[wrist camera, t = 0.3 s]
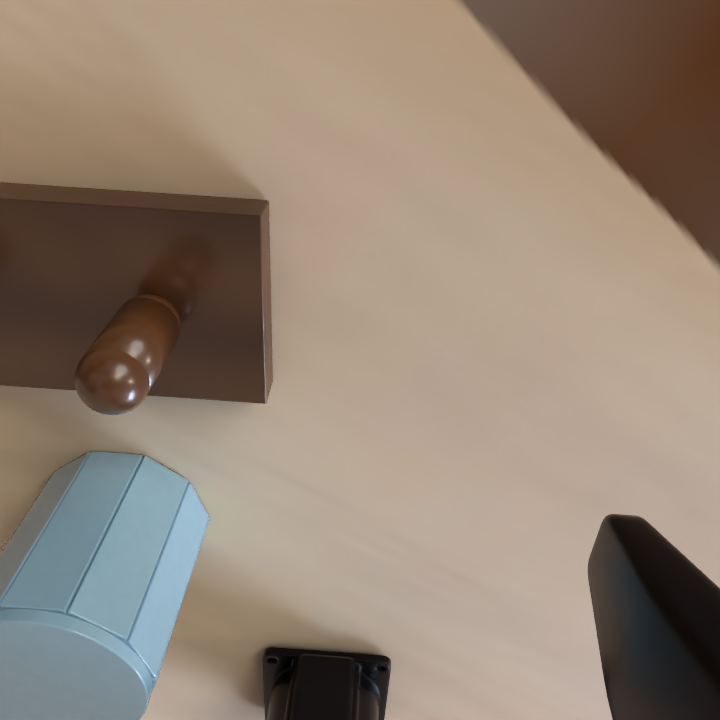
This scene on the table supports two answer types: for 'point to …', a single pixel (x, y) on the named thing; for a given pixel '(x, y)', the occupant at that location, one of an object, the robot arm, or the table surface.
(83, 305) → the rack
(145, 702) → the cup
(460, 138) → the table surface
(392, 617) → the table surface
